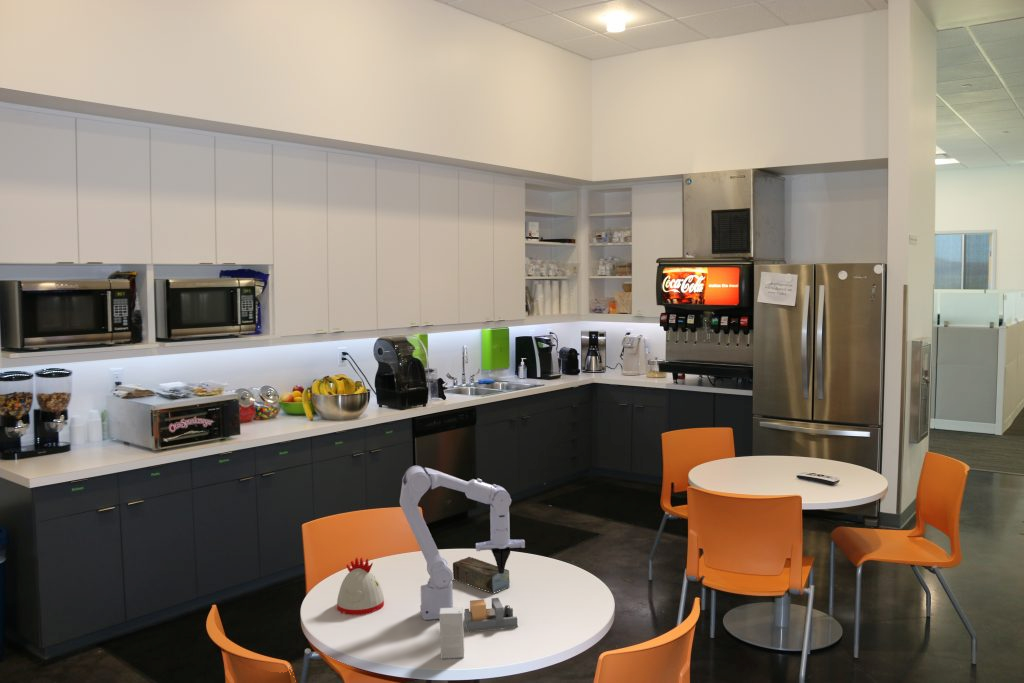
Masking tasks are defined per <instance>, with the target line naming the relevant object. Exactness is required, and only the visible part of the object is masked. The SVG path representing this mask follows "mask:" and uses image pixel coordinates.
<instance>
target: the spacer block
mask: <svg viewBox="0 0 1024 683" xmlns="http://www.w3.org/2000/svg"><path fill="white" fill-rule="evenodd" d="M486 609H487V604H486V600H485V599H473V600H470V601H469V611H470V613H471V616H472V621H476V620H486Z"/></svg>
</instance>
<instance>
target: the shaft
mask: <svg viewBox="0 0 1024 683" xmlns="http://www.w3.org/2000/svg"><path fill="white" fill-rule="evenodd" d="M510 608H511V607H510V605H506V604H505V605H504V606H503V618H505V617H511V612H510ZM495 618H496V612H495V608H492V607H491V608H486V619H495Z"/></svg>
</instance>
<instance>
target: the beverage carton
mask: <svg viewBox="0 0 1024 683" xmlns="http://www.w3.org/2000/svg"><path fill="white" fill-rule="evenodd" d="M452 574H453V578H452V579H453V580H454V579H455V580H454V581H456V580H457V582H459V581H460V582H459V583H462V582H463V583H462V584H465V583H466V584H465V585H467V584H469V585H468V586H470V585H472V586H471V587H473V586H474V587H473V588H475V587H477V588H476V589H478V588H480V589H479V590H481V589H483V590H482V591H484V590H486V591H485V592H487V591H489V592H488V593H490V592H492V593H491V594H493V593H494V592H496V593H498V592H497V591H499V590H501V591H503V590H502V589H504V588H507V587H509V588H510V570H509V569H507V568H506V569H505V568H504V573H503V574H499V572H498V567H497V565H494V564H492V563H490V562H486V561H483V560H481V559H478V558H474V557H471V556H468V557H466V558H461V559H460V560H457V561H455V562H453V563H452ZM507 589H508V588H507ZM504 590H505V589H504ZM499 592H500V591H499ZM494 594H495V593H494Z"/></svg>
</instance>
